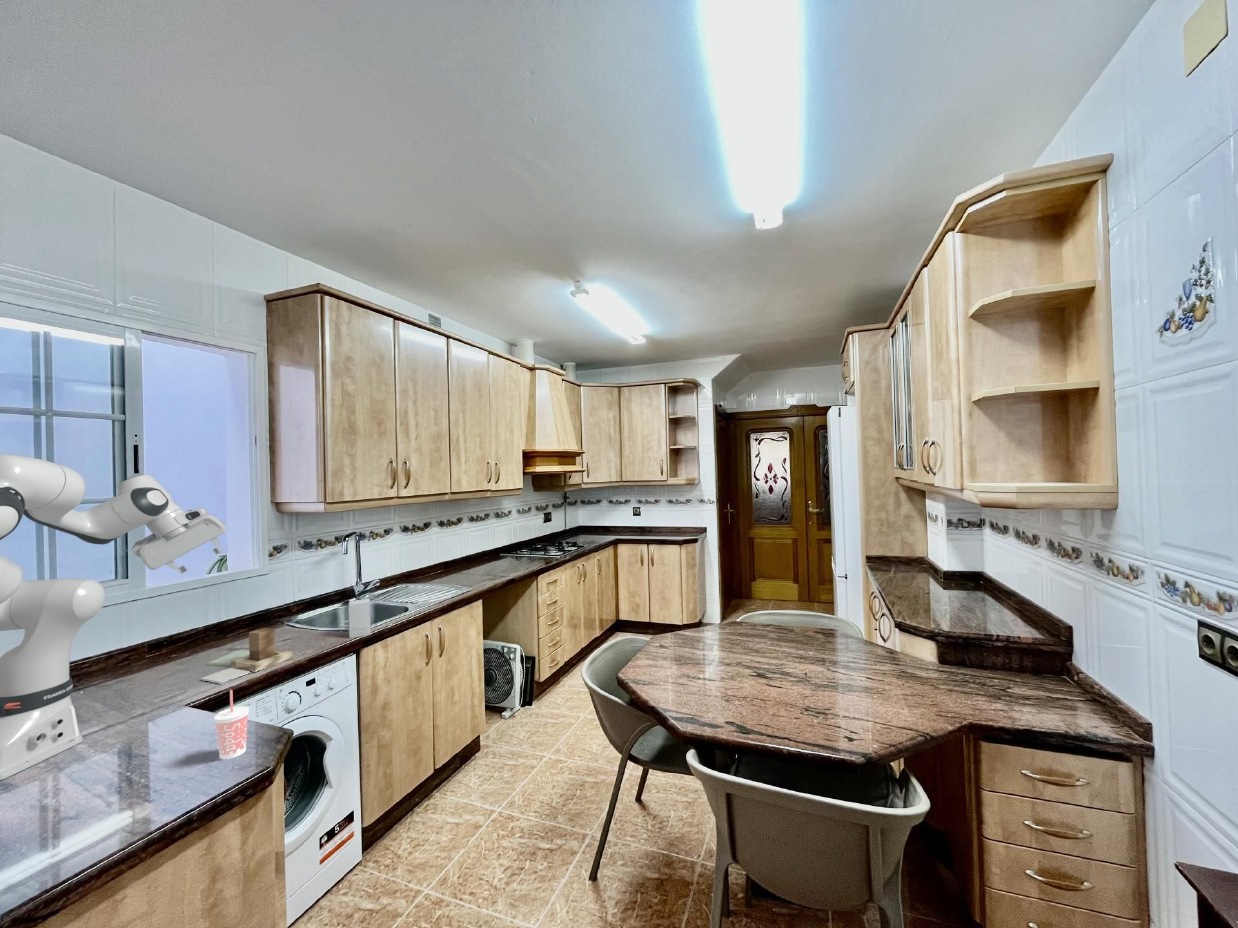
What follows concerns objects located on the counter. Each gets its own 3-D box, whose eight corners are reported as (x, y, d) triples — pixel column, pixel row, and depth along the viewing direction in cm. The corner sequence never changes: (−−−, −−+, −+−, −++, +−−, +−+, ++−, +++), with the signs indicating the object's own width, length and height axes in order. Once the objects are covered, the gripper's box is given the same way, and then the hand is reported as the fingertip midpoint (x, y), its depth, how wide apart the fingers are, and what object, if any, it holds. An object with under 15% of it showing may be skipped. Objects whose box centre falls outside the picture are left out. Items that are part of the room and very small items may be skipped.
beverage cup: (209, 763, 104) (207, 698, 104) (223, 748, 110) (221, 686, 110) (242, 758, 106) (240, 693, 106) (255, 743, 112) (253, 682, 112)
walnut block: (259, 667, 158) (258, 633, 158) (249, 665, 160) (248, 632, 160) (275, 661, 163) (274, 628, 163) (265, 660, 165) (264, 627, 165)
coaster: (237, 665, 161) (237, 662, 161) (207, 665, 162) (207, 662, 162) (265, 652, 172) (265, 650, 172) (237, 652, 173) (237, 650, 173)
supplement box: (370, 634, 187) (369, 601, 187) (348, 638, 184) (347, 605, 184) (370, 629, 194) (369, 597, 194) (349, 633, 190) (348, 600, 190)
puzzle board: (223, 685, 145) (223, 676, 145) (198, 680, 149) (198, 672, 149) (293, 658, 165) (292, 651, 165) (269, 655, 169) (269, 647, 169)
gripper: (125, 547, 135) (160, 586, 139) (207, 506, 146) (237, 543, 150) (130, 544, 141) (163, 582, 144) (209, 505, 151) (238, 541, 155)
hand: (202, 562), depth 147 cm, fingers open, 8 cm apart
